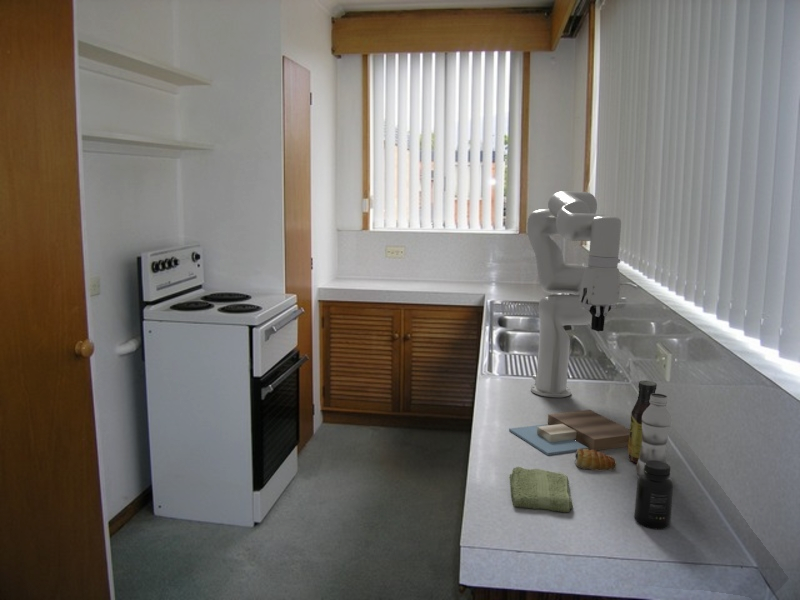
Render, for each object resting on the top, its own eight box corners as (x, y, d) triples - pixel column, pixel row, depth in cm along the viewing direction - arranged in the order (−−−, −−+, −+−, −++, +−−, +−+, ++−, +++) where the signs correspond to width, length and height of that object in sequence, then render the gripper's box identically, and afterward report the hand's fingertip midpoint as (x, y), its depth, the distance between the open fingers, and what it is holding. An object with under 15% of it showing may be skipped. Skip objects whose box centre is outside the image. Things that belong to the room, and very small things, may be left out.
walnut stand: (547, 424, 196) (548, 414, 195) (589, 419, 201) (589, 409, 201) (593, 450, 178) (594, 439, 177) (637, 444, 183) (638, 433, 183)
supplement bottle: (676, 522, 141) (682, 465, 139) (660, 533, 136) (666, 474, 134) (643, 510, 146) (649, 455, 144) (627, 520, 141) (633, 463, 139)
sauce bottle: (633, 453, 177) (640, 376, 173) (658, 460, 173) (666, 382, 169) (622, 461, 172) (630, 381, 168) (648, 468, 168) (656, 387, 164)
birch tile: (536, 434, 186) (537, 426, 186) (562, 430, 189) (562, 423, 189) (550, 442, 181) (550, 434, 180) (575, 438, 184) (576, 431, 184)
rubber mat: (508, 430, 190) (509, 428, 190) (546, 426, 194) (546, 424, 194) (547, 455, 173) (547, 453, 173) (587, 449, 178) (587, 447, 178)
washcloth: (567, 481, 160) (568, 467, 159) (573, 516, 143) (574, 501, 142) (509, 475, 162) (509, 462, 161) (508, 509, 145) (509, 495, 144)
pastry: (613, 462, 171) (614, 447, 170) (617, 474, 164) (618, 458, 164) (573, 459, 172) (574, 444, 172) (575, 470, 166) (577, 454, 165)
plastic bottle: (629, 480, 161) (637, 395, 157) (643, 472, 165) (652, 389, 162) (656, 489, 156) (665, 402, 153) (670, 481, 161) (679, 396, 158)
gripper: (616, 260, 195) (610, 326, 198) (571, 261, 189) (565, 328, 192) (634, 264, 188) (628, 331, 191) (588, 264, 182) (583, 334, 186)
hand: (597, 330), depth 192 cm, fingers closed
